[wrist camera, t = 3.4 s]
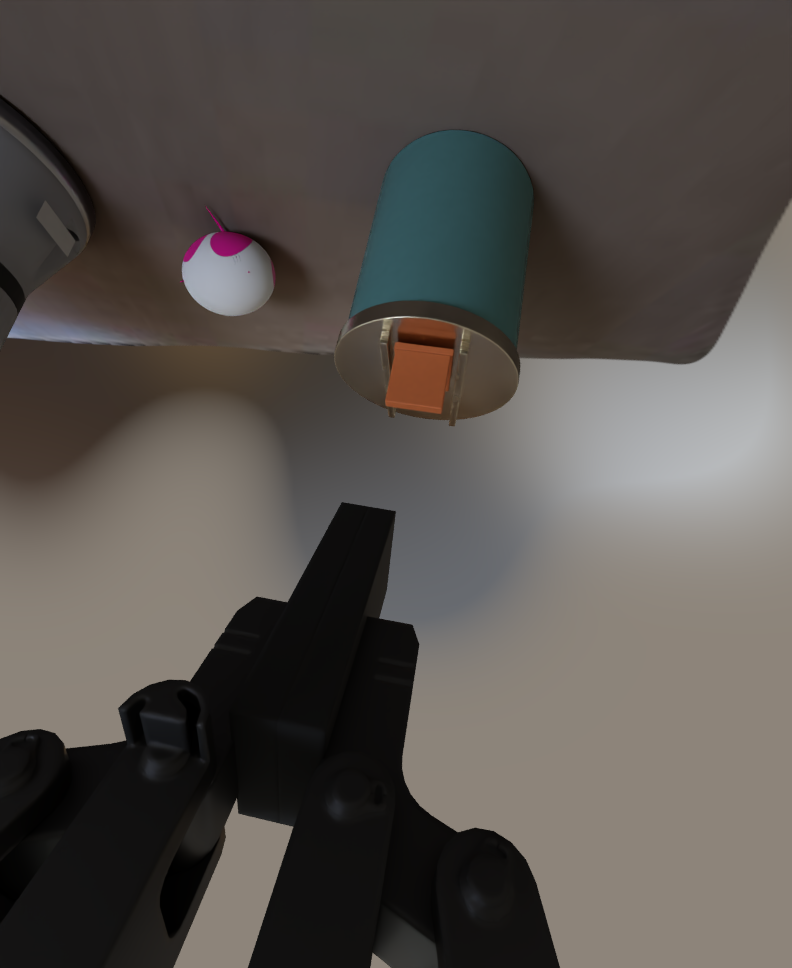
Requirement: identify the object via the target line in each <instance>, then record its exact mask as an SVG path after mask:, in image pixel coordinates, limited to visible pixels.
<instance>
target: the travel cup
mask: <svg viewBox="0 0 792 968" xmlns="http://www.w3.org/2000/svg"><path fill="white" fill-rule="evenodd" d="M533 206H534V195H533V187H532V184H531V180H530V178H529V175H528V173H527V171H526V169H525V167H524V166H523V164H522V163H521V161H520V160H519V159H518V158H517V157H516V155H515V154H514V153H513V152H512V151H510V150H509V149H508V148H507V147H506V146H504V145H503V144H501V143H500V142H498V141H497V140H495V139H493V138H490V137H488V136H486V135H483V134H480V133H476V132H472V131H465V130H445V131H438V132H435V133H431V134H428V135H425V136H423V137H420V138H418V139H417V140H415V141H413V142H411V143H410V144H408V145H407V146H406V147H405V148H404V149H402V150H401V151H400V152H399V153H398V154H397V156H396V157H395V158H394V159H393V161H392V162H391V164H390V165H389V167H388V169H387V171H386V173H385V176H384V179H383V183H382V187H381V191H380V195H379V199H378V203H377V207H376V211H375V215H374V219H373V223H372V227H371V231H370V235H369V239H368V243H367V247H366V251H365V255H364V259H363V263H362V267H361V271H360V275H359V279H358V283H357V287H356V291H355V295H354V299H353V303H352V307H351V311H350V315H349V319H348V321H347V322H346V323H345V325H344V326H343V328H342V329H341V331H340V334H339V337H338V341H337V345H336V349H335V356H334V359H335V364H336V367H337V370H338V372H339V374H340V375H341V377H342V379H343V380H344V381H345V382H346V383H347V384H348V385H349V386H350V387H351V388H352V389H353V390H354V391H355V392H357V393H358V394H359V395H361V396H362V397H364V398H366V399H367V400H369V401H371V402H373V403H375V404H377V405H379V406H381V407H384V408H386V409H388V414H389V417H393V418H394V417H395V413H396V412H398V413H401V414H405V415H409V416H413V417H419V418H425V419H436V420H450V421H449V426H455V423H456V420H457V419H467V418H472V417H477V416H481V415H484V414H488V413H490V412H492V411H495V410H497V409H498V408H500V407H502V406H503V405H504V404H506V403H507V402H508V401H509V400H510V399H511V398H512V397H513V395H514V394H515V392H516V390H517V387H518V383H519V374H520V359H519V354H518V352H517V344H518V335H519V327H520V318H521V310H522V301H523V292H524V284H525V275H526V267H527V258H528V250H529V241H530V232H531V224H532V215H533ZM395 342H401V343H408V344H416V345H424V346H432V347H440V348H447V349H454V354H453V362H452V369H451V377H450V385H449V391H445V397H444V403H443V409H442V413H441V414H437V413H430V412H423V411H416V410H409V409H402V408H395V407H388V406H386V403H385V399H386V394H387V389H388V384H389V380H390V375H391V370H392V365H393V360H394V356H395V354H394V346H395Z"/></svg>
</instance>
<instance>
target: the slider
mask: <svg viewBox="0 0 792 968" xmlns="http://www.w3.org/2000/svg"><path fill="white" fill-rule="evenodd" d="M394 354H395V356H394V360H393V365H392V370H391V375H390V380H389V384H388V389H387V394H386V399H385V403H386V406H388V407H395V408H402V409H409V410H416V411H423V412H430V413H437V414H441V413H442V409H443V403H444V397H445V391H449V385H450V377H451V369H452V362H453V354H454V349H447V348H440V347H432V346H424V345H416V344H408V343H401V342H395V346H394Z"/></svg>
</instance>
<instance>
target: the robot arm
mask: <svg viewBox="0 0 792 968" xmlns="http://www.w3.org/2000/svg"><path fill="white" fill-rule="evenodd" d="M94 228H95V211H94V208H93V204H92V201H91V199H90V197H89V194H88V192H87V191H86V189H85V187H84V185H83V183H82V182H81V180H80V179H79V177H78V176H77V174H76V173H75V171H74V170H73V169H72V167H71V166H70V165H69V163H68V162H67V161H66V160H65V158H64V157H63V156H62V155H61V154H60V153H59V152H58V150H57V149H56V148H55V147H54V146H53V145H52V144H51V143H50V142H49V141H48V140H47V139H46V138H45V137H44V136H43V135H42V134H41V133H40V132H39V131H38V130H37V129H36V128H35V127H34V126H33V125H32V124H31V123H30V122H28V121H27V120H26V119H25V118H24V117H23V116H22V115H20V114H19V113H18V112H17V111H16V110H14V109H13V108H12V107H11V106H9V105H8V104H7V103H6V102H4V101H3V100H2V99H0V350H1V348H2V346H3V344H4V342H5V340H6V338H7V336H8V334H9V332H10V330H11V328H12V326H13V324H14V322H15V320H16V318H17V316H18V314H19V312H20V310H21V308H22V306H23V304H24V302H25V300H26V298H27V297H28V295H29V294H30V293H31V292H32V291H34V290H35V289H36V288H37V287H39V286H40V285H41V284H43V283H44V282H45V281H46V280H48V279H49V278H50V277H51V276H53V275H54V274H55V273H56V272H58V271H59V270H60V269H62V268H63V267H64V266H65V265H67V264H68V263H69V262H70V261H72V260H73V259H74V258H76V257H77V256H78V255H79V254H80V253H81V252H82V251H83V250H84V249H85V247H86V245H87V243H88V241H89V239H90V237H91V235H92V233H93V230H94ZM395 514H396V512H395V511H391V510H384V509H379V508H373V507H367V506H361V505H355V504H349V503H343V502H342V503H341V505H340V507H339V508H338V510H337V512H336V514H335V516H334V518H333V520H332V521H331V523H330V525H329V527H328V529H327V531H326V533H325V534H324V536H323V538H322V540H321V542H320V544H319V545H318V547H317V549H316V551H315V553H314V555H313V556H312V558H311V560H310V562H309V564H308V566H307V568H306V569H305V571H304V573H303V575H302V577H301V579H300V580H299V582H298V584H297V586H296V588H295V590H294V591H293V594H292V595H291V597H290V599H289V601H288V602H282V601H277V600H272V599H266V598H261V597H256V598H254V599H253V600H251V601H250V602H249V603H247V604H246V605H245V606H243V607H242V608H240V609H239V610H238V611H237V612H236V614H235V615H234V616H233V618H232V620H231V621H230V622H229V624H228V625H227V627H226V628H225V632H224V633H222V635H221V636H220V637H219V639H218V641H217V642H216V643H215V647H214V649H211V651H210V652H209V654H208V656H207V657H206V659H205V660H204V661H203V663H202V664H201V666H200V668H199V669H198V671H197V672H196V673H195V675H194V677H193V678H192V679H191V681H190V682H189V681H186V680H166V681H162V682H158V683H155V684H151V685H149V686H147V687H145V688H144V689H141V690H140V691H138V692H136V693H134V694H133V695H132V696H130V698H128V699H127V701H125V702H124V703H123V704H122V705H121V706H120V707H119V708H118V710H119V714H120V717H121V721H122V725H123V729H124V732H125V736H126V741H122V742H117V743H112V744H104V745H95V746H87V747H77V748H67V749H65V746H64V743H63V742H62V741H61V740H60V739H59V737H58V736H57V735H56V734H55V733H52V732H49V731H45V730H41V729H37V730H27V731H20V732H18V733H15V734H12V735H9V736H7V737H4V738H1V739H0V968H173V967H174V965H175V962H176V960H177V958H178V955H179V953H180V951H181V948H182V946H183V943H184V941H185V939H186V936H187V934H188V932H189V929H190V927H191V925H192V922H193V920H194V917H195V915H196V913H197V910H198V908H199V906H200V903H201V901H202V899H203V896H204V894H205V891H206V889H207V887H208V884H209V882H210V880H211V877H212V875H213V873H214V870H215V868H216V866H217V863H218V861H219V859H220V856H221V854H222V849H223V846H224V842H225V838H226V836H225V828H224V826H225V823H226V821H227V819H228V817H229V814H230V812H231V810H232V808H233V805H234V803H235V801H236V798H237V802H238V813H239V814H243V815H247V816H251V817H256V818H259V819H264V820H268V821H272V822H276V823H280V824H285V825H289V826H293V830H292V833H291V837H290V840H289V843H288V846H287V849H286V852H285V855H284V858H283V861H282V865H281V867H280V870H279V873H278V877H277V880H276V883H275V886H274V889H273V892H272V895H271V898H270V901H269V904H268V907H267V911H266V914H265V917H264V920H263V923H262V926H261V929H260V932H259V935H258V938H257V941H256V945H255V948H254V951H253V954H252V957H251V960H250V963H249V966H248V968H370V966H371V959H372V953H374V954H375V955H376V956H378V957H379V958H380V959H381V960H383V961H384V962H385V963H386V964H388V965H389V966H390V967H391V968H560V966H559V963H558V959H557V956H556V952H555V949H554V945H553V941H552V938H551V934H550V931H549V927H548V924H547V920H546V916H545V913H544V909H543V906H542V902H541V899H540V895H539V891H538V888H537V884H536V882H535V879H534V877H533V875H532V872H531V870H530V868H529V866H528V863H527V861H526V859H525V858H524V857H523V856H522V855H521V853H520V852H519V851H518V850H517V849H516V847H515V846H514V845H513V844H512V843H511V842H510V841H508V840H507V839H505V838H504V837H502V836H500V835H499V834H497V833H496V832H494V831H490V830H484V829H479V828H472V829H469V830H465V831H461V832H456V831H455V830H453V829H452V828H450V827H448V826H447V825H445V824H444V823H442V822H441V821H439V820H438V819H436V818H435V817H433V816H431V815H430V814H429V813H428V812H426V811H425V810H424V809H423V808H422V807H420V806H419V804H418V803H417V802H416V800H415V799H414V798H413V797H412V795H411V794H410V792H409V789H408V787H407V785H406V783H405V781H404V776H403V771H402V755H403V748H404V742H405V735H406V728H407V722H408V715H409V708H410V702H411V695H412V689H413V681H414V675H415V669H416V663H417V656H418V649H419V642H418V640H417V637H416V634H415V631H414V628H413V625H411V624H405V623H400V622H395V621H390V620H384V619H379V617H380V613H381V609H382V605H383V601H384V598H385V594H386V590H387V583H388V574H389V565H390V557H391V548H392V540H393V531H394V522H395Z"/></svg>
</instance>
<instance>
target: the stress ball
mask: <svg viewBox="0 0 792 968" xmlns="http://www.w3.org/2000/svg"><path fill="white" fill-rule="evenodd" d="M205 207H206V206H205ZM206 208H207V207H206ZM207 210H208V209H207ZM208 211H209V210H208ZM209 213H210V214H211V212H210V211H209ZM211 216H212V217H213V219H214V220H215V222H216V223H217V225H218V226H219V228H220V229H221V231H222V232H214V233H210V234H207V235H205V236H203V237H201V238H199V239H198V240H197V241H195V242H194V243H193V244H192V245H191V246H190V247H189V249H188V250H187V252H186V254H185V256H184V259H183V264H182V276H183V281H180V282H184V283H185V286H186V288H187V290H188V292H189V293H190V294H191V296H192V297H193V298H194V299H195V300H196V301H197V302H198V303H199V304H200V305H201V306H203V307H204V308H206V309H208V310H210V311H212V312H215V313H217V314H221V315H226V316H240V315H245V314H249V313H251V312H254V311H256V310H257V309H259V308H260V307H262V306H263V305H264V304H265V303H266V302H267V301H268V299H269V298H270V296H271V294H272V292H273V290H274V286H275V270H274V266H273V263H272V261H271V259H270V257H269V255H268V254H267V252H266V251H265V250H264V249H263V248H262V247H261V246H260V245H259V244H258V243H257V242H255V241H254V240H252V239H251V238H249V237H247V236H244V235H242V234H238V233H234V232H225V230H224V229H223V228H222V227H221V225H220V224H219V223H218V221H217V220H216V219H215V218H214V216H213V215H212V214H211Z"/></svg>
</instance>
